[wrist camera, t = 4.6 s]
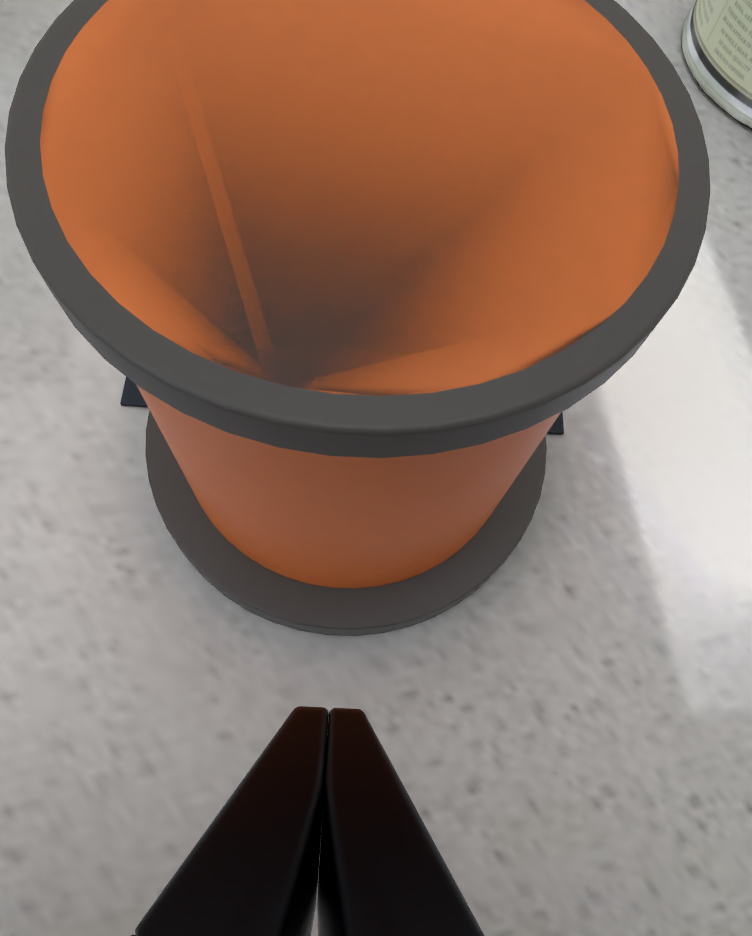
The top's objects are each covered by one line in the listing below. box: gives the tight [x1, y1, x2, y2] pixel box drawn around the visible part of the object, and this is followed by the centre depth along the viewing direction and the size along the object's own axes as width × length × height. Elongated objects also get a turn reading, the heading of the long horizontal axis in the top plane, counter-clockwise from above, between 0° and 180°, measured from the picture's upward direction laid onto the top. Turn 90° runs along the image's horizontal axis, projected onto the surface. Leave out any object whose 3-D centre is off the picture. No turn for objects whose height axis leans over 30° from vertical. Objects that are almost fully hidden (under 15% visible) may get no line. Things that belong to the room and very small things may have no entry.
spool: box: [5, 0, 710, 635], centre depth 15 cm, size 11×11×11 cm
